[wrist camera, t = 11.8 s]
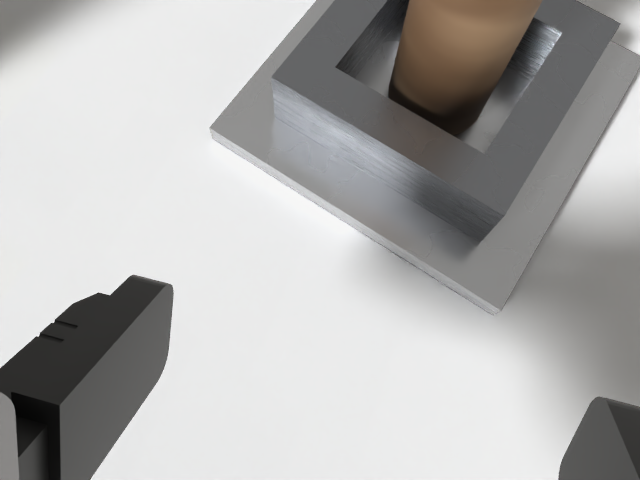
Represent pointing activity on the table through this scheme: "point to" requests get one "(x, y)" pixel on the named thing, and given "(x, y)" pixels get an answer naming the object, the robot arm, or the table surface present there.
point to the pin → (456, 56)
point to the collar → (433, 137)
